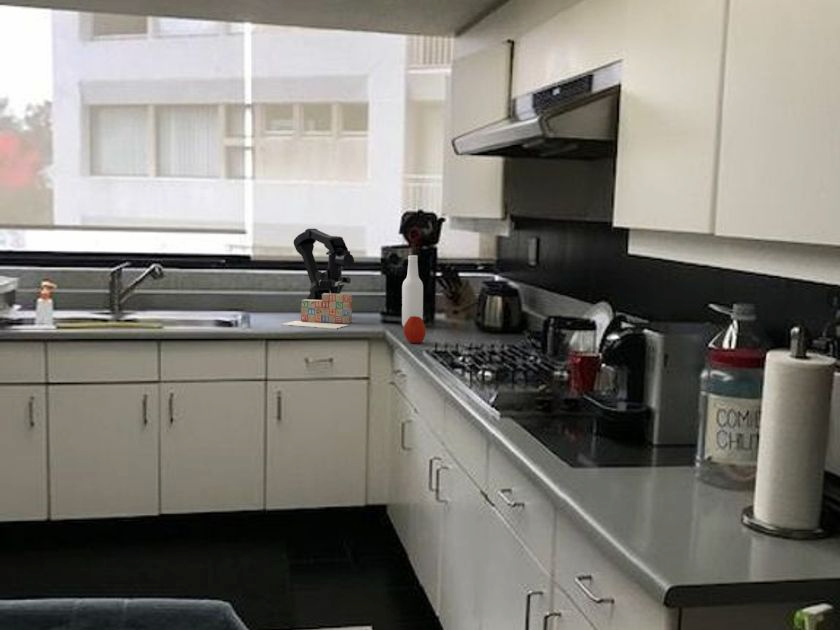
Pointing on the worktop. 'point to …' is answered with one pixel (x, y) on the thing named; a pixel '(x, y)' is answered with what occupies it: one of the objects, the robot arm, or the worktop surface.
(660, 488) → the worktop surface
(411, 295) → the alcohol
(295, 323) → the mat
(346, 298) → the stack of blocks
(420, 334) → the red oval lump
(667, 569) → the worktop surface
